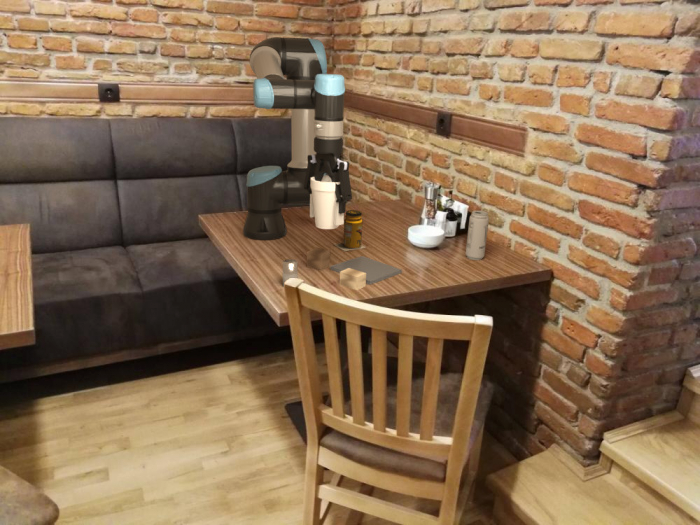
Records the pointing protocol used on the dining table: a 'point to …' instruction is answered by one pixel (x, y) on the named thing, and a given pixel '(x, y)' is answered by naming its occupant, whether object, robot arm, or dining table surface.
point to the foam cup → (324, 202)
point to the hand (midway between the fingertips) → (326, 220)
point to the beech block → (352, 279)
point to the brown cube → (318, 258)
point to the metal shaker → (290, 269)
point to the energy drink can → (477, 235)
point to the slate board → (368, 268)
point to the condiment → (352, 231)
